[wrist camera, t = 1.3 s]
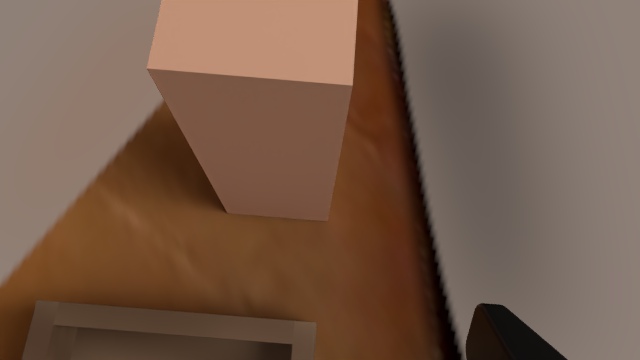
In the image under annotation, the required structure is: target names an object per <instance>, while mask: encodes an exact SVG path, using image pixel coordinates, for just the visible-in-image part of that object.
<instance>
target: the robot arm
mask: <svg viewBox="0 0 640 360" xmlns="http://www.w3.org/2000/svg"><path fill="white" fill-rule="evenodd" d="M466 358H467V360H567V359H566V358H565V357H564V356H563V355H561V354H560V353H559V352H558V351H557V350H556V349H555V348H553V347H552V346H551V345H550V344H549V343H547V342H546V341H545V340H544V339H542V338H541V337H540V336H539V335H538V334H537V333H536V332H534V331H533V330H532V329H531V328H530V327H529V326H527V325H526V324H525V323H524V322H523V321H521V320H520V319H519V318H518V317H517V316H516V315H514V314H513V313H512V312H511V311H510V310H509V309H507V308H506V307H505V306H503V305H497V304H485V303H481V304H479V305H477V307H476V308H475V311H474V315H473V318H472V322H471V325H470V329H469V333H468V336H467V340H466Z"/></svg>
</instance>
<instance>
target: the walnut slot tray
mask: <svg viewBox="0 0 640 360" xmlns="http://www.w3.org/2000/svg"><path fill="white" fill-rule="evenodd" d="M316 326H317V323H314V322H302V321H290V320H277V319H265V318H253V317H241V316H228V315H216V314H204V313H191V312H179V311H167V310H154V309H142V308H130V307H118V306H105V305H93V304H81V303H68V302H56V301H44V300H37V301H36V305H35V309H34V313H33V317H32V321H31V325H30V328H29V332H28V336H27V340H26V344H25V348H24V351H23V355H22V359H21V360H314V352H315V339H316Z"/></svg>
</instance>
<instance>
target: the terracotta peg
mask: <svg viewBox="0 0 640 360" xmlns="http://www.w3.org/2000/svg"><path fill="white" fill-rule="evenodd" d="M357 6H358V0H162V2H161V6H160V11H159V16H158V20H157V24H156V29H155V33H154V38H153V43H152V47H151V52H150V56H149V60H148V65H147V70H148V71H149V73H150V75H151V77H152V79H153V80H154V82H155V84H156V86H157V88H158V89H159V91H160V93H161V95H162V97H163V98H164V100H165V102H166V104H167V106H168V107H169V109H170V111H171V113H172V115H173V116H174V118H175V120H176V122H177V123H178V125H179V127H180V129H181V131H182V132H183V134H184V136H185V138H186V140H187V141H188V143H189V145H190V147H191V149H192V150H193V152H194V154H195V156H196V158H197V159H198V161H199V163H200V165H201V167H202V168H203V170H204V172H205V174H206V176H207V177H208V179H209V181H210V183H211V184H212V186H213V188H214V190H215V192H216V193H217V195H218V197H219V199H220V201H221V202H222V204H223V206H224V208H225V210H226V211H227V213H230V214H242V215H254V216H266V217H279V218H291V219H303V220H315V221H328V216H329V210H330V205H331V199H332V194H333V189H334V183H335V178H336V172H337V167H338V162H339V156H340V151H341V145H342V140H343V135H344V129H345V124H346V118H347V113H348V108H349V102H350V97H351V91H352V86H353V71H354V55H355V39H356V23H357Z"/></svg>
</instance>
